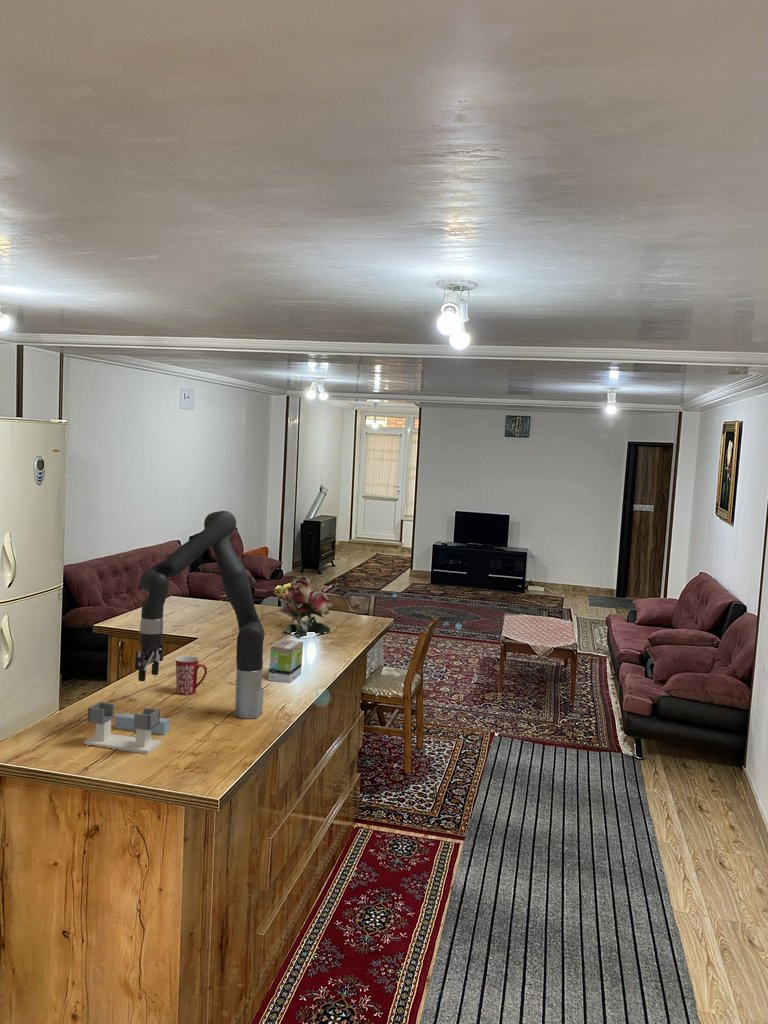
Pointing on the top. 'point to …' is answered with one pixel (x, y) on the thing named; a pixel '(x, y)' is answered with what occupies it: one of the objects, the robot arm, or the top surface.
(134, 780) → the top surface
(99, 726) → the stand
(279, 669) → the tea box
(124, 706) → the top surface
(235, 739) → the top surface
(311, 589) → the rose bouquet
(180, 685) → the mug
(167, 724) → the rail
